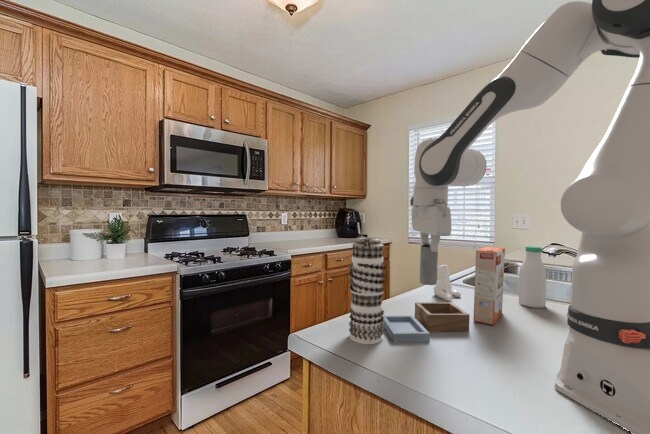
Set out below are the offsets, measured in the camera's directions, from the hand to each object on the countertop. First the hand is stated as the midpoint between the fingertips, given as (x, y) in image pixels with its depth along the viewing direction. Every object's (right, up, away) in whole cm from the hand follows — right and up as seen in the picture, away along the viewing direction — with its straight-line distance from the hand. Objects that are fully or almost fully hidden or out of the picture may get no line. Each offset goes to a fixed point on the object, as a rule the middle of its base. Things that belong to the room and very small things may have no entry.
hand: (429, 250), depth 88 cm
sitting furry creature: (+16, -21, +30) cm, 40 cm away
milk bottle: (+42, -21, +21) cm, 52 cm away
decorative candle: (-18, -22, -7) cm, 29 cm away
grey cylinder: (0, -9, 0) cm, 9 cm away
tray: (-8, -21, -3) cm, 23 cm away
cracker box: (+21, -21, +8) cm, 31 cm away
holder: (+4, -21, +2) cm, 22 cm away
